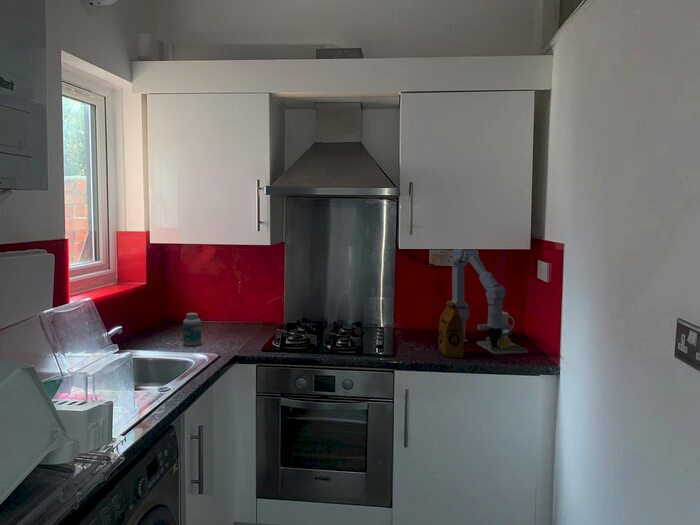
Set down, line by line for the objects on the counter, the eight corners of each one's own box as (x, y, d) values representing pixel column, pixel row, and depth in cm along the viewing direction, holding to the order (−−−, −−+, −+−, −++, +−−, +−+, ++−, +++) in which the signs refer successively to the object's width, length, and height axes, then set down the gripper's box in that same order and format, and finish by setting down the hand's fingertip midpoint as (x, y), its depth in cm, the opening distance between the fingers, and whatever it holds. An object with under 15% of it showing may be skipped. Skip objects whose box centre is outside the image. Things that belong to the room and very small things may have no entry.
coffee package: (441, 358, 215) (443, 304, 213) (436, 350, 228) (438, 299, 226) (466, 358, 215) (468, 305, 213) (459, 350, 228) (461, 300, 226)
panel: (494, 354, 223) (494, 340, 223) (476, 343, 241) (477, 331, 241) (527, 353, 226) (527, 340, 226) (507, 342, 244) (507, 330, 243)
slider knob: (503, 349, 226) (504, 339, 225) (500, 347, 229) (500, 337, 228) (510, 349, 226) (510, 338, 226) (507, 347, 229) (507, 337, 229)
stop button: (490, 342, 230) (490, 338, 230) (487, 340, 234) (487, 336, 234) (498, 342, 231) (498, 337, 231) (494, 340, 235) (495, 335, 234)
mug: (510, 335, 259) (512, 311, 258) (517, 339, 250) (518, 314, 249) (487, 335, 258) (488, 311, 257) (492, 339, 250) (493, 314, 249)
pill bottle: (180, 344, 231) (179, 313, 230) (195, 341, 236) (195, 311, 235) (189, 347, 226) (188, 316, 225) (204, 344, 231) (204, 313, 230)
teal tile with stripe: (490, 342, 236) (489, 339, 236) (486, 339, 240) (485, 337, 240) (511, 333, 237) (510, 331, 237) (507, 331, 242) (506, 329, 241)
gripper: (482, 316, 220) (481, 348, 221) (515, 316, 222) (514, 348, 224) (475, 313, 227) (474, 344, 228) (507, 312, 229) (506, 343, 231)
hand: (493, 346), depth 226 cm, fingers closed
